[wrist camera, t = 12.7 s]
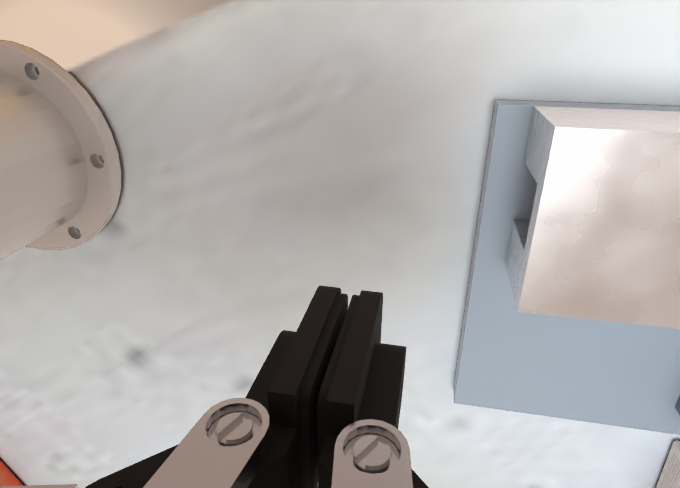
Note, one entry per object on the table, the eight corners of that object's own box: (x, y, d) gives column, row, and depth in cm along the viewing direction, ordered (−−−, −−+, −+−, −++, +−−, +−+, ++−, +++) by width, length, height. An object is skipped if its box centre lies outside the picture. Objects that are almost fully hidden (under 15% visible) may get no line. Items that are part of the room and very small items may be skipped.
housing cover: (505, 263, 25) (517, 311, 21) (533, 106, 21) (555, 127, 17) (651, 277, 23) (695, 330, 19) (707, 112, 20) (774, 136, 16)
